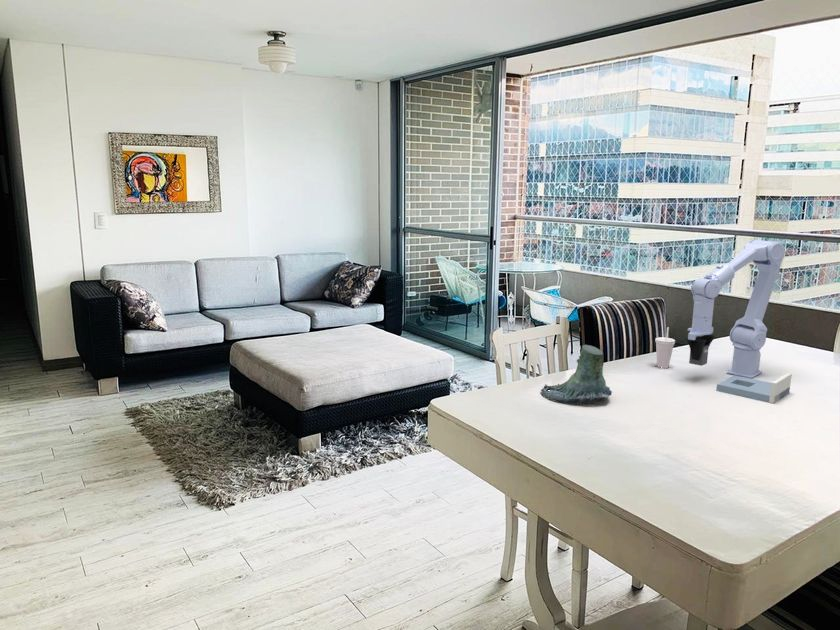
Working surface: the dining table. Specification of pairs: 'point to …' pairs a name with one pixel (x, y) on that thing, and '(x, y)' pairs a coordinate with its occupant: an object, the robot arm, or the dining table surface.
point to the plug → (701, 357)
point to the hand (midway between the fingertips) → (698, 358)
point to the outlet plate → (757, 388)
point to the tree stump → (582, 380)
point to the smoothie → (664, 350)
